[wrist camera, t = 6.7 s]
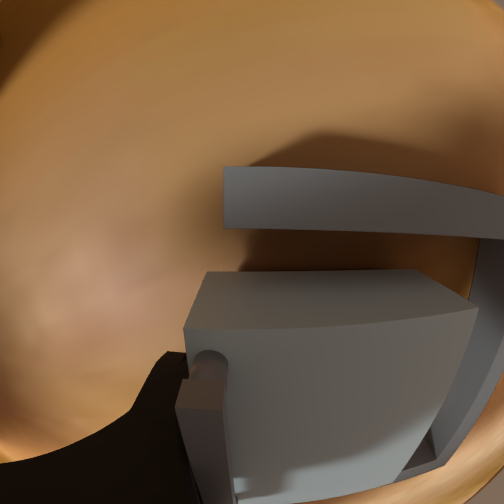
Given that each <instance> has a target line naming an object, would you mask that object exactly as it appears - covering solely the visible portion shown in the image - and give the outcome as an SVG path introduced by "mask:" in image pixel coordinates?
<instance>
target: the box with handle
mask: <svg viewBox="0 0 504 504" xmlns="http://www.w3.org/2000/svg"><path fill="white" fill-rule="evenodd" d="M478 310H479V307H478V306H476V305H475V304H473V303H471V302H470V301H468V300H467V299H465V298H463V297H462V296H460V295H459V294H457V293H455V292H454V291H452V290H450V289H449V288H447V287H445V286H444V285H442V284H440V283H439V282H437V281H435V280H434V279H432V278H430V277H428V276H427V275H425V274H423V273H422V272H420V271H418V270H416V269H383V270H343V271H276V272H207V273H206V275H205V277H204V280H203V282H202V284H201V287H200V289H199V291H198V294H197V296H196V299H195V301H194V303H193V306H192V308H191V311H190V313H189V315H188V318H187V320H186V323H185V325H184V328H183V331H184V339H185V347H186V354H187V362H188V369H189V378H188V379H183V380H182V383H181V387H180V390H179V394H178V397H177V400H176V404H175V411H176V415H177V419H178V423H179V426H180V430H181V434H182V438H183V441H184V445H185V448H186V452H187V455H188V458H189V462H190V465H191V468H192V471H193V474H194V477H195V480H196V483H197V486H198V489H199V492H200V494H201V497H202V500H203V503H204V504H292V503H301V502H309V501H316V500H323V499H329V498H334V497H339V496H344V495H349V494H353V493H357V492H361V491H365V490H369V489H373V488H376V487H380V486H383V485H386V484H389V483H393V481H394V480H395V479H396V477H397V476H398V475H399V473H400V472H401V471H402V469H403V468H404V467H405V465H406V464H407V462H408V461H409V459H410V458H411V456H412V455H413V453H414V452H415V450H416V449H417V447H418V446H419V444H420V443H421V441H422V439H423V438H424V436H425V434H426V433H427V431H428V429H429V428H430V426H431V424H432V422H433V420H434V419H435V417H436V415H437V413H438V411H439V409H440V407H441V405H442V403H443V401H444V399H445V397H446V395H447V393H448V391H449V389H450V387H451V385H452V382H453V380H454V378H455V376H456V373H457V371H458V368H459V366H460V363H461V361H462V358H463V356H464V353H465V350H466V348H467V345H468V342H469V339H470V336H471V333H472V330H473V327H474V324H475V320H476V317H477V314H478Z"/></svg>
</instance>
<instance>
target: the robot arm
mask: <svg viewBox="0 0 504 504" xmlns="http://www.w3.org/2000/svg"><path fill="white" fill-rule="evenodd" d="M188 378H189V369H188V362H187V354H186V353H181V352H170V351H167V352H166V353H165V354H164V355H163V356H162V357H161V358H160V359H159V360H158V361H157V362H156V363H155V365H154V367H153V368H152V370H151V372H150V374H149V376H148V377H147V379H146V381H145V383H144V385H143V387H142V389H141V391H140V393H139V394H138V396H137V398H136V400H135V402H134V404H133V406H132V408H131V409H130V410H129V411H128V412H127V413H125V414H124V415H123V416H121V417H120V418H118V419H117V420H115V421H114V422H112V423H111V424H109V425H108V426H106V427H104V428H103V429H101V430H99V431H97V432H96V433H94V434H92V435H90V436H88V437H86V438H84V439H81V440H79V441H77V442H75V443H73V444H71V445H69V446H66V447H64V448H61V449H59V450H56V451H53V452H50V453H47V454H44V455H40V456H37V457H33V458H30V459H25V460H21V461H15V462H8V463H1V464H0V504H204V503H203V500H202V497H201V494H200V492H199V489H198V486H197V483H196V480H195V477H194V474H193V471H192V468H191V465H190V462H189V458H188V455H187V452H186V448H185V445H184V441H183V438H182V434H181V430H180V426H179V423H178V419H177V415H176V411H175V404H176V400H177V397H178V394H179V390H180V387H181V383H182V380H183V379H188Z"/></svg>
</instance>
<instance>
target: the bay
mask: <svg viewBox="0 0 504 504" xmlns="http://www.w3.org/2000/svg"><path fill="white" fill-rule="evenodd" d="M224 228H233V229H297V230H334V231H363V232H387V233H408V234H428V235H445V236H461V237H476V238H480V242H479V249H478V256H477V262H476V267H475V272H474V277H473V282H472V287H471V291H470V295H469V300H468V301H470V302H471V303H473V304H475V305H476V306H478V307H479V310H478V314H477V317H476V320H475V324H474V327H473V330H472V333H471V336H470V339H469V342H468V345H467V348H466V350H465V353H464V356H463V358H462V361H461V363H460V366H459V368H458V371H457V373H456V376H455V378H454V380H453V382H452V385H451V387H450V389H449V391H448V393H447V395H446V397H445V399H444V401H443V403H442V405H441V407H440V409H439V411H438V413H437V415H436V417H435V419H434V420H433V422H432V424H431V426H430V428H429V429H428V431H427V433H426V434H425V436H424V438H423V439H422V441H421V443H420V444H419V446H418V447H417V449H416V450H415V452H414V453H413V455H412V456H411V458H410V459H409V461H408V462H407V464H406V465H405V467H404V468H403V469H402V471H401V472H400V473H399V475H398V476H397V477H396V479H395V480H394V481H393V483H396V482H399V481H402V480H406V479H409V478H412V477H415V476H418V475H421V474H424V473H426V472H429V471H432V470H434V469H437V468H439V467H442V466H444V465H445V464H446V463H447V462H448V460H449V459H450V458H451V457H452V455H453V454H454V453H455V451H456V450H457V449H458V447H459V446H460V444H461V443H462V442H463V440H464V439H465V437H466V436H467V434H468V433H469V431H470V430H471V428H472V427H473V425H474V424H475V422H476V421H477V419H478V417H479V416H480V414H481V412H482V411H483V409H484V407H485V406H486V404H487V402H488V400H489V399H490V397H491V395H492V393H493V391H494V389H495V387H496V385H497V383H498V381H499V379H500V377H501V375H502V373H503V371H504V196H502V195H498V194H494V193H490V192H485V191H481V190H476V189H472V188H467V187H462V186H456V185H451V184H446V183H440V182H434V181H428V180H421V179H415V178H408V177H400V176H393V175H384V174H375V173H366V172H355V171H344V170H331V169H315V168H294V167H251V166H236V167H224ZM389 484H392V483H389ZM386 485H388V484H386ZM383 486H385V485H383ZM380 487H381V486H380ZM376 488H377V487H376Z"/></svg>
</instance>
